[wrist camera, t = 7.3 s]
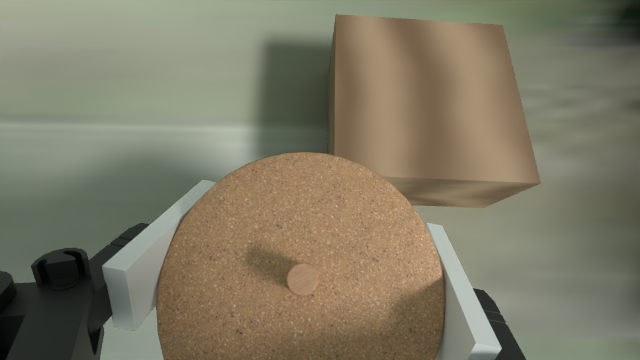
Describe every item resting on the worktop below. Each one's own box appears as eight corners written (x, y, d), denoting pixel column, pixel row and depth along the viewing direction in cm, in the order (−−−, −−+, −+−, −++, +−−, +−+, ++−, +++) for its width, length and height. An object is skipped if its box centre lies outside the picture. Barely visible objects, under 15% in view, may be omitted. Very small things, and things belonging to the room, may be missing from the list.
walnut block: (460, 79, 31) (502, 25, 25) (481, 208, 26) (540, 183, 20) (328, 72, 31) (335, 14, 24) (326, 202, 26) (334, 174, 19)
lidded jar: (192, 246, 19) (88, 208, 10) (339, 174, 21) (361, 91, 12) (261, 428, 16) (198, 611, 7) (426, 323, 18) (543, 358, 9)
